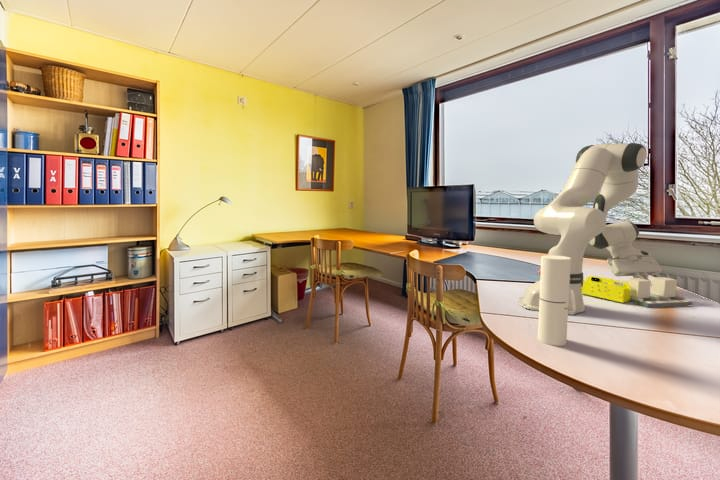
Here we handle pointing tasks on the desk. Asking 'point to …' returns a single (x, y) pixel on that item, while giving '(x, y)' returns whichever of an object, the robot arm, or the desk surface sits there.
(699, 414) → the desk surface
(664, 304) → the button board
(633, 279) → the button
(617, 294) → the yellow toy chassis
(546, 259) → the cylindrical container
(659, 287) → the button
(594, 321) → the desk surface
